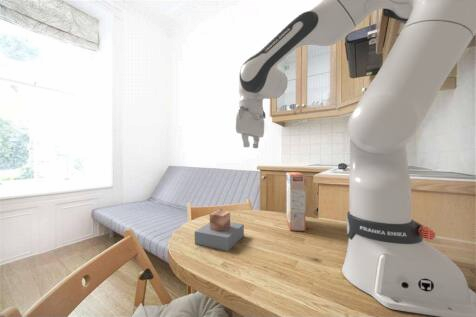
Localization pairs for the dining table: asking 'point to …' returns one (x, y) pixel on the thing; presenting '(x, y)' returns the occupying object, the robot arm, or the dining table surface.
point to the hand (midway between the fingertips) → (251, 147)
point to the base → (219, 236)
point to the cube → (220, 220)
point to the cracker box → (296, 201)
